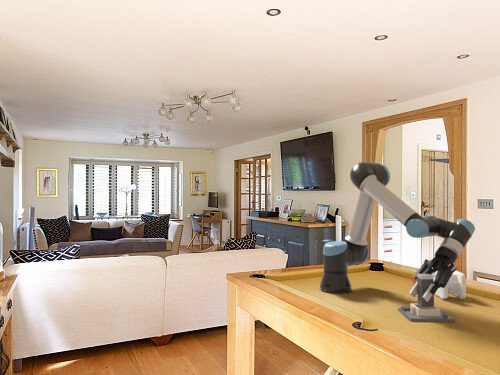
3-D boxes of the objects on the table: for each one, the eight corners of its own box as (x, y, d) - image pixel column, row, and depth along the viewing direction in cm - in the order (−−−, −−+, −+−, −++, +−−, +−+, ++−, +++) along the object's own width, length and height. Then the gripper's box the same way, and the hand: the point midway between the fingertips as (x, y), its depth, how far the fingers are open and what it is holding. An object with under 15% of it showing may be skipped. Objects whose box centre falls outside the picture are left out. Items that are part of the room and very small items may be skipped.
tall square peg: (422, 306, 145) (421, 276, 146) (417, 303, 150) (417, 273, 150) (434, 306, 145) (433, 276, 145) (429, 303, 149) (428, 273, 150)
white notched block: (467, 301, 167) (467, 274, 168) (442, 301, 168) (442, 274, 169) (452, 293, 182) (452, 268, 183) (429, 292, 183) (429, 268, 184)
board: (410, 321, 141) (410, 311, 141) (397, 310, 155) (397, 301, 155) (455, 321, 140) (454, 312, 140) (437, 310, 154) (437, 301, 154)
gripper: (475, 261, 145) (444, 310, 138) (434, 255, 162) (405, 297, 156) (464, 248, 143) (433, 296, 136) (424, 243, 160) (394, 285, 154)
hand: (418, 297), depth 146 cm, fingers closed on tall square peg, 6 cm apart
